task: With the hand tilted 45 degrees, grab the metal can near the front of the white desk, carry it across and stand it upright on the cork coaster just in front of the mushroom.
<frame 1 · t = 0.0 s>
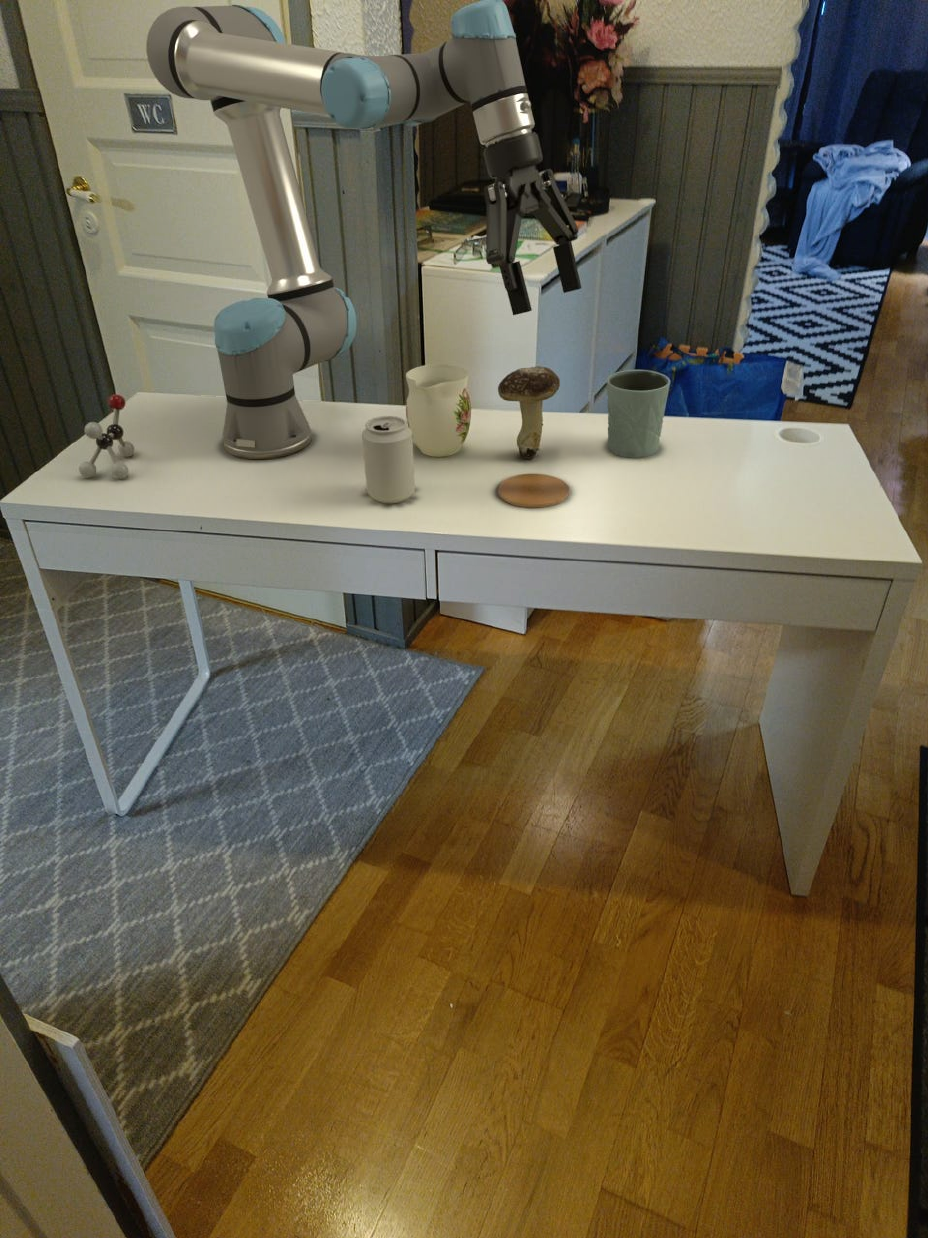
hand: (548, 301, 125), 28 cm above the table, tool tilted 20°, fingers open, 13 cm apart
molecular model: (118, 466, 149), on the table
coaster: (533, 491, 137), on the table
pitcher: (441, 447, 153), on the table
can: (391, 496, 138), on the table
mushroom: (528, 457, 148), on the table
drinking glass: (632, 449, 150), on the table
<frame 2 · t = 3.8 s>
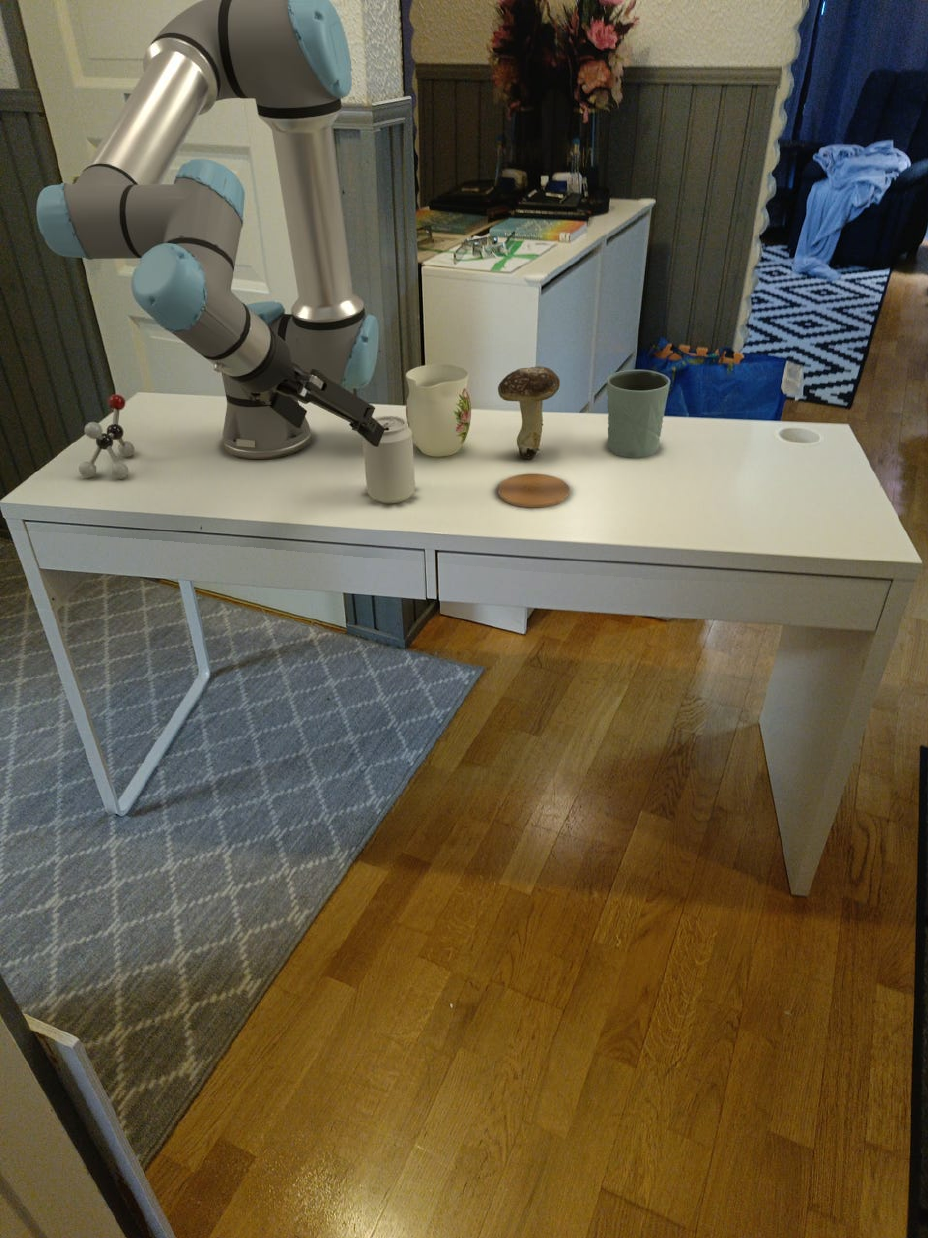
hand: (339, 428, 122), 15 cm above the table, tool tilted 45°, fingers open, 13 cm apart
nothing on the table moved.
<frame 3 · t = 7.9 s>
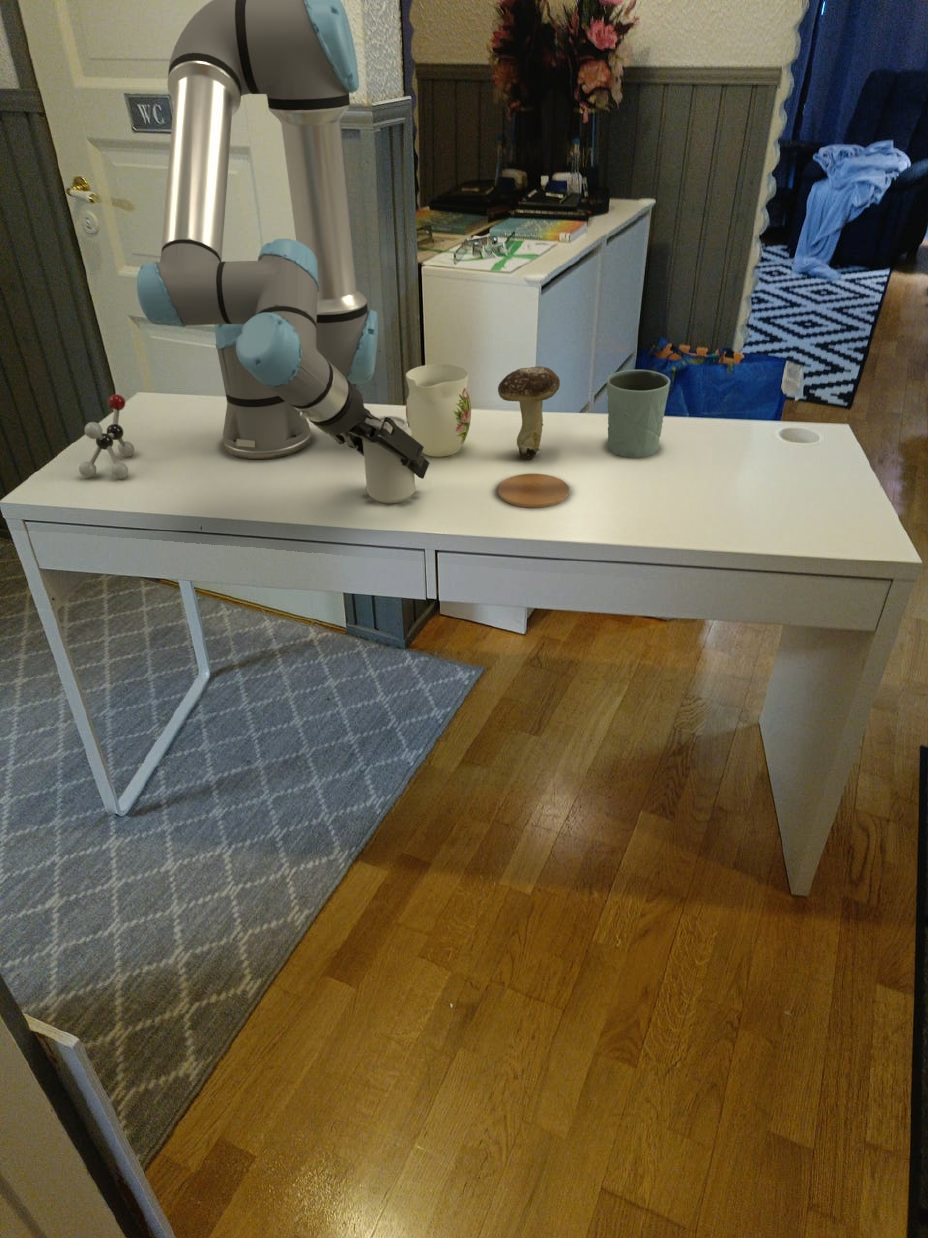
hand: (402, 464, 138), 4 cm above the table, tool tilted 45°, fingers closed on can, 7 cm apart
can: (391, 496, 138), on the table, touching gripper
everything else where it was.
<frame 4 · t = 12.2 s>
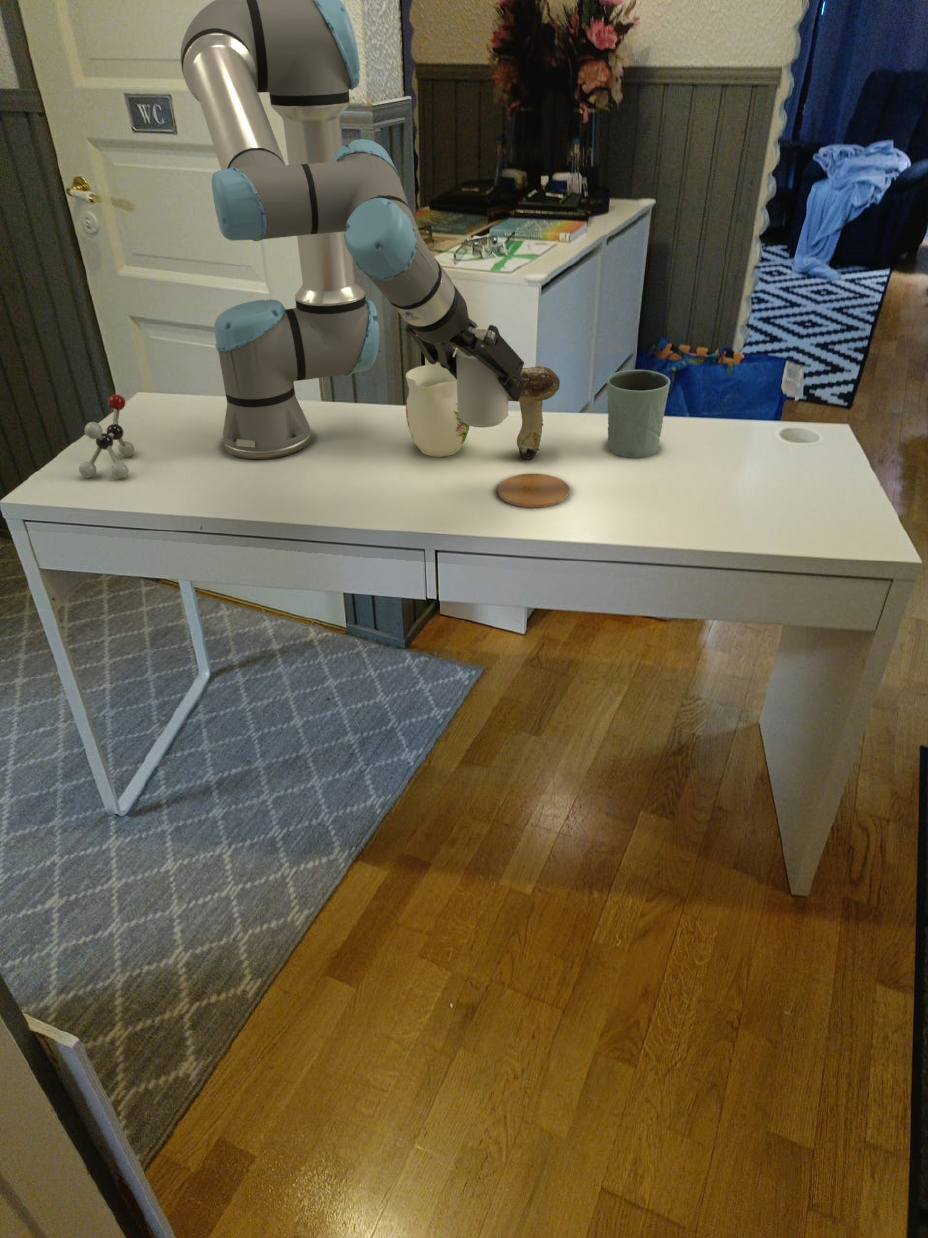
hand: (494, 388, 131), 16 cm above the table, tool tilted 45°, fingers closed on can, 7 cm apart
can: (483, 421, 131), point 12 cm above the table, touching gripper
everything else where it was.
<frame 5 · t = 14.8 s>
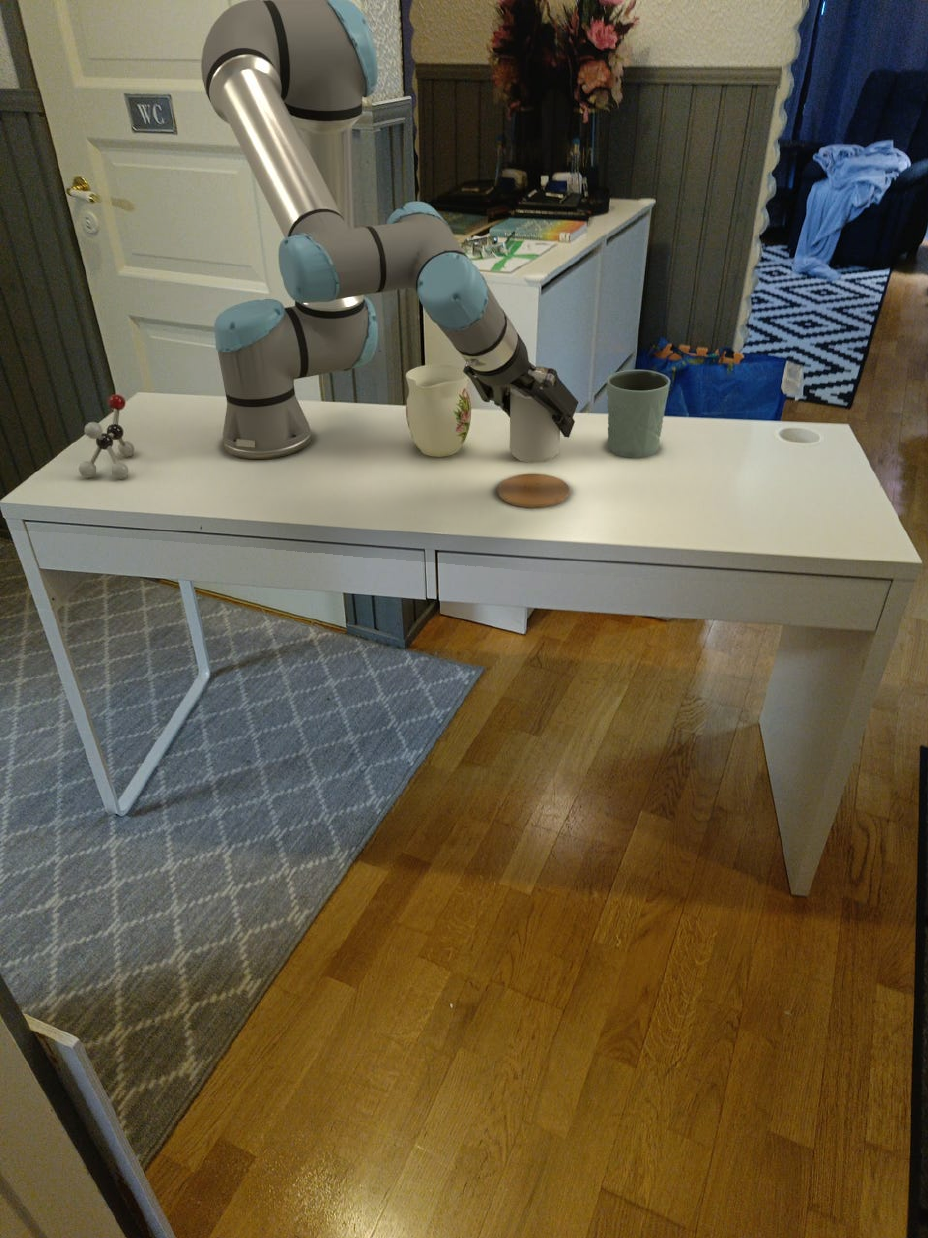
hand: (545, 424, 134), 10 cm above the table, tool tilted 45°, fingers closed on can, 7 cm apart
can: (534, 456, 134), point 6 cm above the table, touching gripper
everything else where it was.
when the fingers open (4 cm above the table, at t = 16.8 s): can stays where it is, resting on coaster.
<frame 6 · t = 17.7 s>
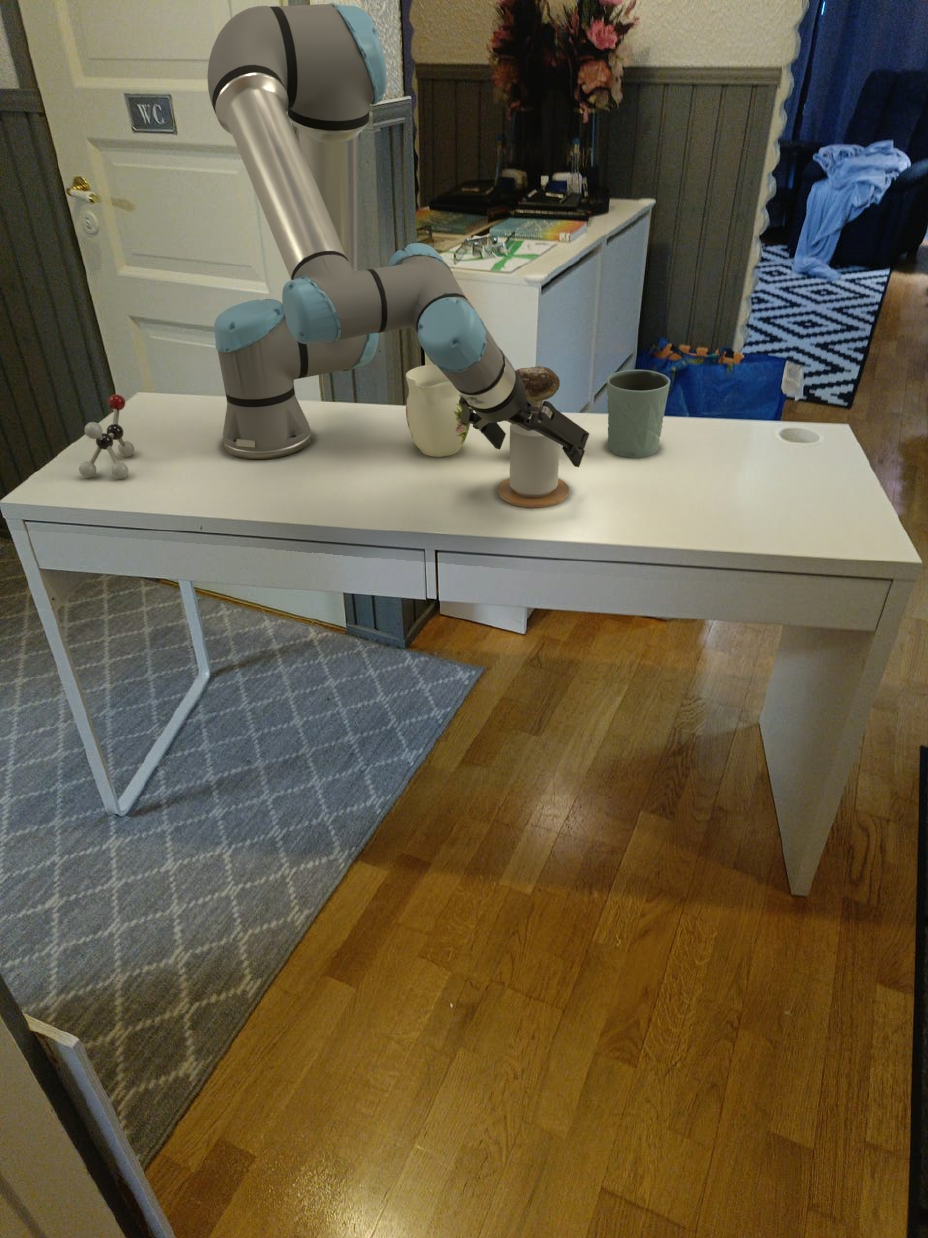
hand: (539, 449, 135), 6 cm above the table, tool tilted 45°, fingers open, 13 cm apart
can: (533, 489, 137), resting on coaster
everything else where it was.
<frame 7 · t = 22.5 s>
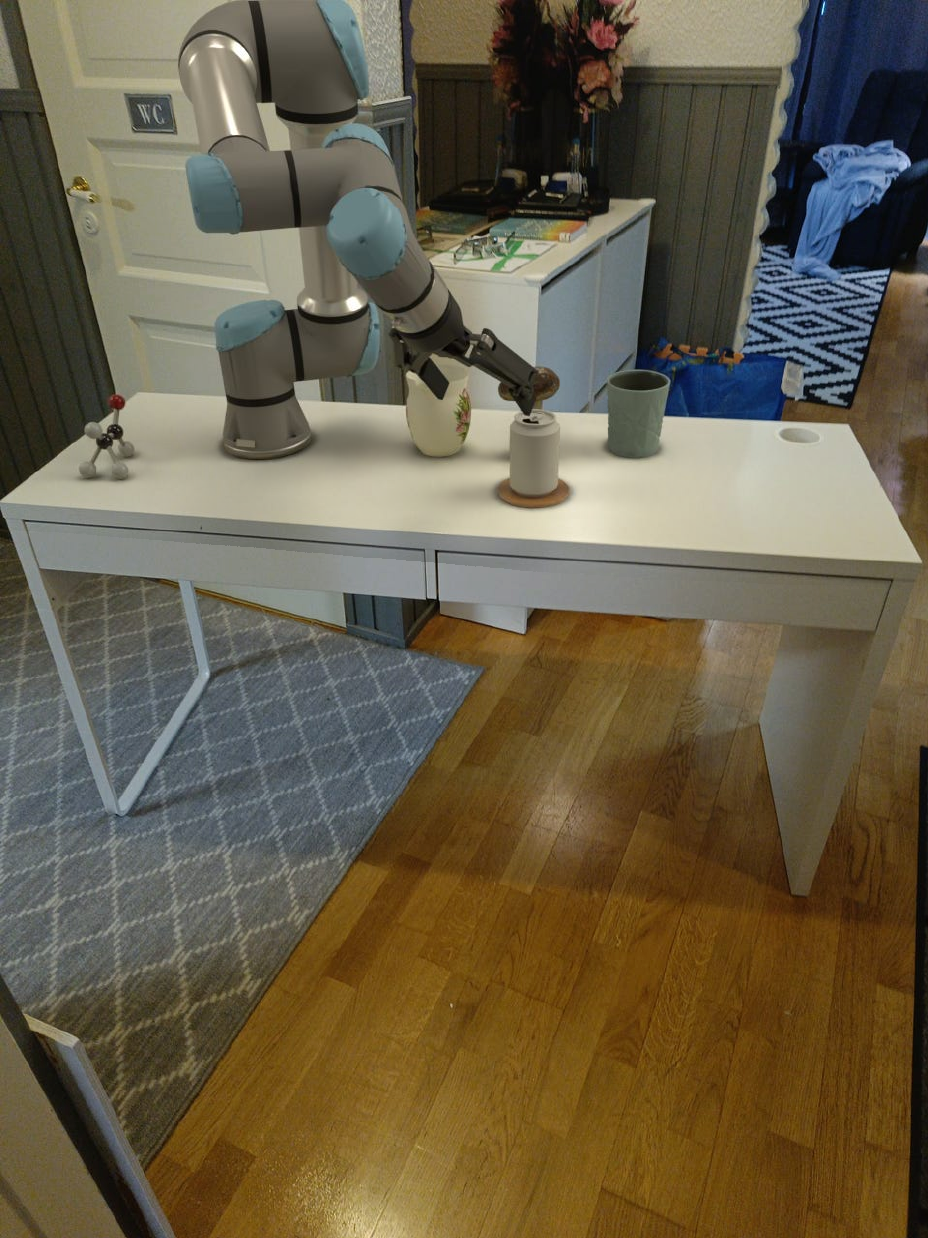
hand: (486, 398, 119), 19 cm above the table, tool tilted 45°, fingers open, 13 cm apart
nothing on the table moved.
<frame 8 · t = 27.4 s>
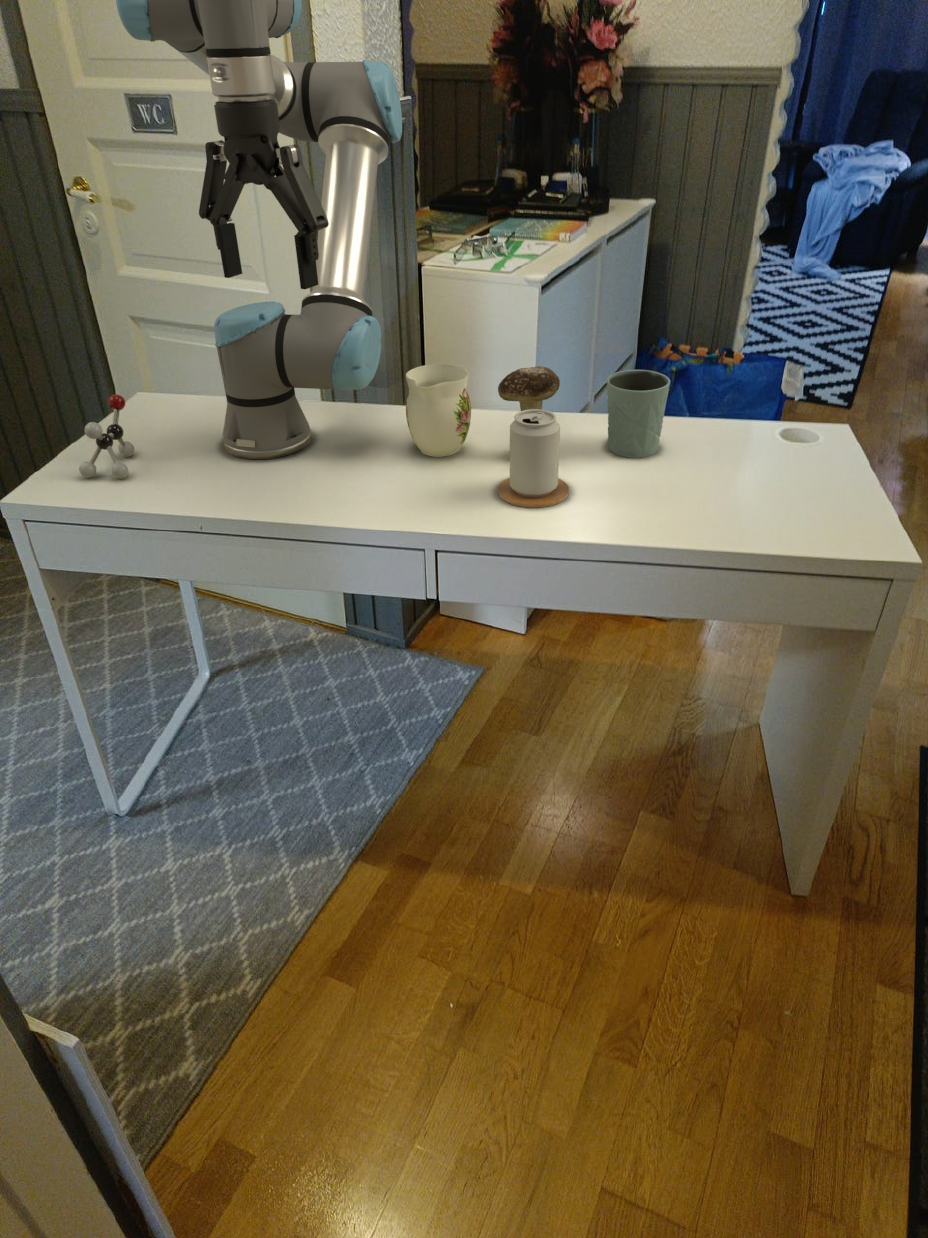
hand: (270, 281, 118), 33 cm above the table, tool pointing down, fingers open, 13 cm apart
nothing on the table moved.
at the end: can inside the target area on the table beside the mushroom (0.1 cm from its centre), point 0.5 cm above the table; can tilted 0°; mushroom moved 0.2 cm from its start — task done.
